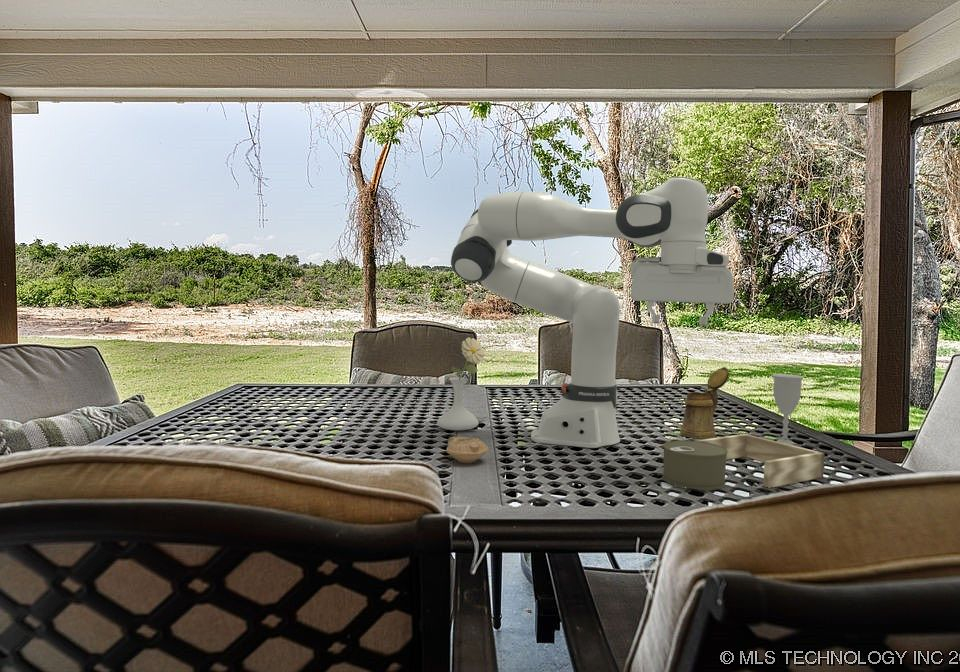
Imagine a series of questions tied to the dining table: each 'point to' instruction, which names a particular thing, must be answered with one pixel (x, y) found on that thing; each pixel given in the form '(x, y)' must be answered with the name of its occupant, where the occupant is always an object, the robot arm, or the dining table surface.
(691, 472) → the can
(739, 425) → the dining table surface
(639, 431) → the dining table surface
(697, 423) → the wooden mug
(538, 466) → the dining table surface
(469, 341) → the flower in vase
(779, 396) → the chalice
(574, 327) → the robot arm
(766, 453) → the box
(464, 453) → the pottery oil lamp
